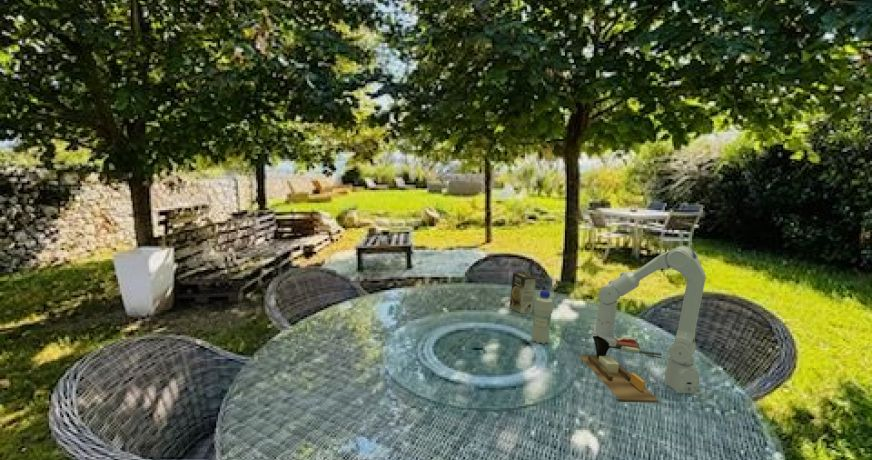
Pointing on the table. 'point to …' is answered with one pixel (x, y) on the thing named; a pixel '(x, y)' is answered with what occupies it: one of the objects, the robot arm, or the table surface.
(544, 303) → the bottle
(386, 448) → the table surface
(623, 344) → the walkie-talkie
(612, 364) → the plug
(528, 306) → the coffee box
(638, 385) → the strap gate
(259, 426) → the table surface
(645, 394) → the cradle
